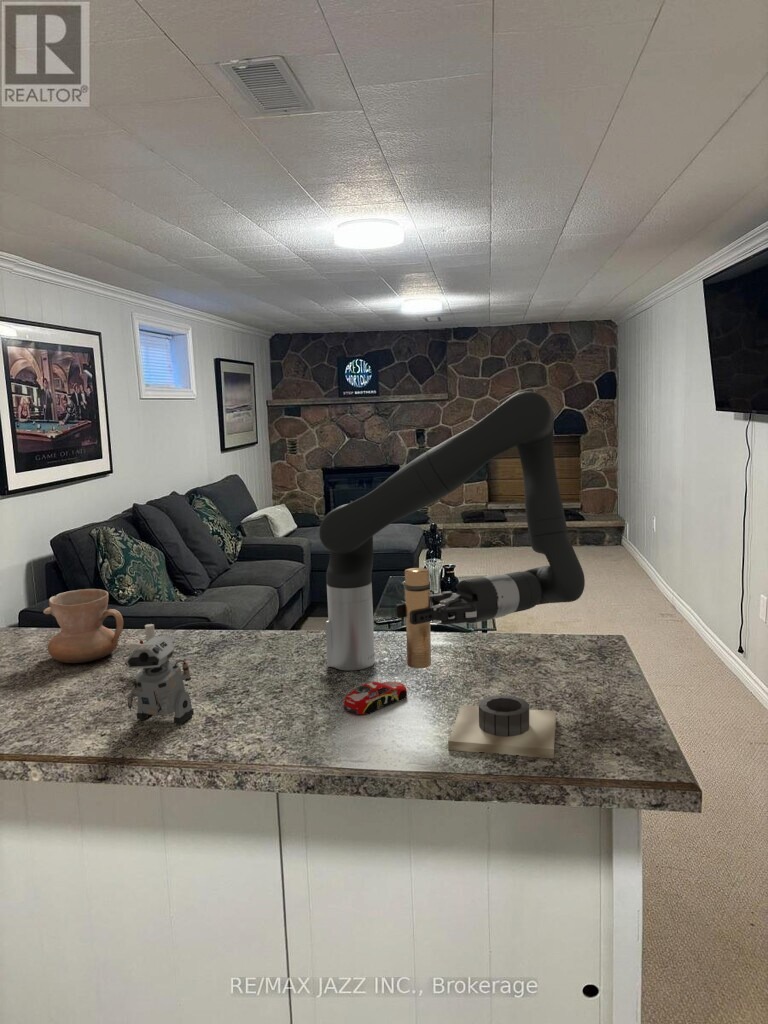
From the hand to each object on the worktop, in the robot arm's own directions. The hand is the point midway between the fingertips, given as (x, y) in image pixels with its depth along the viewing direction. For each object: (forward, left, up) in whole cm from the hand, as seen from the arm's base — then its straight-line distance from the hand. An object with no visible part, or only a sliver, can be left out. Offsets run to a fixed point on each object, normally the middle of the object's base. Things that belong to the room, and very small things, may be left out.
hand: (403, 614), depth 123 cm
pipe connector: (-58, +17, -20) cm, 63 cm away
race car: (-8, +9, -20) cm, 23 cm away
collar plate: (+16, 0, -19) cm, 25 cm away
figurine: (-43, -6, -20) cm, 48 cm away
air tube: (+2, +2, -9) cm, 9 cm away
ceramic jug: (-78, +23, -20) cm, 84 cm away
